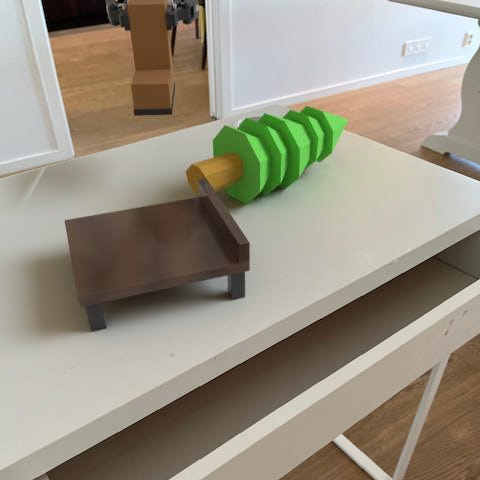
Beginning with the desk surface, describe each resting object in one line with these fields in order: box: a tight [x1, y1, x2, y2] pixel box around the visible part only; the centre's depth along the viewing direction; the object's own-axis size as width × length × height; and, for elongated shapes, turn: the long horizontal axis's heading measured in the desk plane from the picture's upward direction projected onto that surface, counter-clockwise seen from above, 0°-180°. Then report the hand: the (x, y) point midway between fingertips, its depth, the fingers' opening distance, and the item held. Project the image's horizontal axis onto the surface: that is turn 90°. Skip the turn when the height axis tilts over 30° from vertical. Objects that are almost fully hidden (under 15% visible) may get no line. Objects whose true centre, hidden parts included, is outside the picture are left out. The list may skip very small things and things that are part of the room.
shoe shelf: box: [64, 178, 251, 332], centre depth 59 cm, size 18×16×7 cm
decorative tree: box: [185, 105, 349, 205], centre depth 76 cm, size 11×12×30 cm
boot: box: [127, 0, 176, 117], centre depth 70 cm, size 5×12×12 cm, turn 3°
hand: (147, 21), depth 68 cm, fingers closed on boot, 5 cm apart
